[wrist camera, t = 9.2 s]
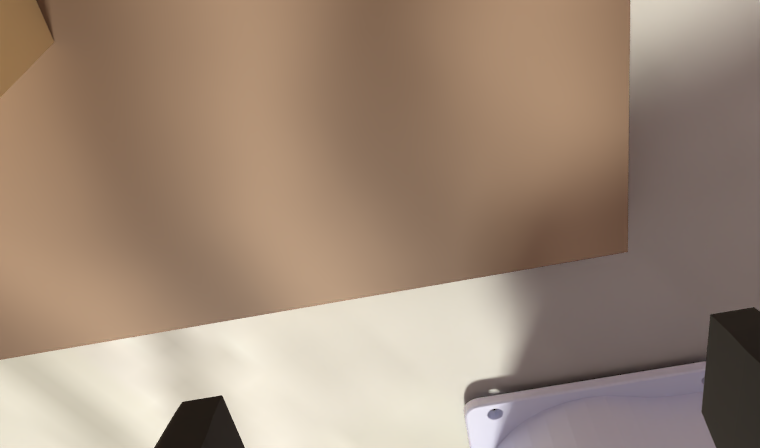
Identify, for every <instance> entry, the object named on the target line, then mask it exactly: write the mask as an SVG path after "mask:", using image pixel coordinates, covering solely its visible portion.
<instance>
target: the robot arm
mask: <svg viewBox="0 0 760 448" xmlns="http://www.w3.org/2000/svg"><path fill="white" fill-rule="evenodd" d="M492 409H497V410H492ZM464 416H465V421H466V427H467V433H468V439H469V445H470V448H760V311H758V310H757V309H755V308H754V307H753V308H747V309H741V310H735V311H729V312H723V313H717V314H711V315H710V326H709V336H708V347H707V358H706V361H703V362H697V363H691V364H685V365H679V366H672V367H666V368H660V369H654V370H648V371H642V372H635V373H629V374H623V375H617V376H611V377H604V378H598V379H592V380H586V381H580V382H574V383H567V384H561V385H555V386H549V387H543V388H536V389H530V390H524V391H518V392H512V393H505V394H499V395H493V396H487V397H481V398H476V399H472V400H470V401H469V402H468V403H466V405H465V406H464ZM154 448H245V447H244V445H243V443H242V440H241V438H240V436H239V433H238V431H237V429H236V426H235V424H234V422H233V420H232V417H231V415H230V413H229V410H228V408H227V406H226V403H225V401H224V399H223V396H216V397H210V398H204V399H197V400H191V401H185V402H182V404H181V405H180V406H179V408H178V409H177V411H176V412H175V414H174V416H173V417H172V419H171V421H170V422H169V424H168V426H167V427H166V429H165V431H164V432H163V434H162V436H161V437H160V439H159V441H158V442H157V444H156V446H155V447H154Z"/></svg>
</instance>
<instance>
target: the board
mask: <svg viewBox="0 0 760 448" xmlns="http://www.w3.org/2000/svg"><path fill="white" fill-rule="evenodd" d="M36 1H37V4H38V6H39V8H40V10H41V13H42V15H43V17H44V20H45V22H46V24H47V26H48V29H49V31H50V33H51V35H52V38H53V40H54V43H53V44H52V45H51V46H50V47H49V48H48V49H47V50H46V51H45V52H44V53H43V54H42V55H41V56H40V57H39V58H38V59H37V60H36V61H35V62H34V63H33V64H32V66H31V67H30V68H29V69H28V70H27V71H26V72H25V73H24V74H23V75H22V76H21V77H20V78H19V79H18V80H17V81H16V82H15V83H14V84H13V85H12V86H11V87H10V88H9V89H8V90H7V91H6V92H5V93H4V94H3V95H2V96H1V97H0V360H1V359H7V358H13V357H19V356H25V355H31V354H36V353H42V352H48V351H54V350H60V349H66V348H71V347H77V346H83V345H89V344H95V343H100V342H106V341H112V340H118V339H124V338H130V337H135V336H141V335H147V334H153V333H159V332H164V331H170V330H176V329H182V328H188V327H194V326H199V325H205V324H211V323H217V322H223V321H228V320H234V319H240V318H246V317H252V316H258V315H263V314H269V313H275V312H281V311H287V310H292V309H298V308H304V307H310V306H316V305H322V304H327V303H333V302H339V301H345V300H351V299H357V298H362V297H368V296H374V295H380V294H386V293H391V292H397V291H403V290H409V289H415V288H421V287H426V286H432V285H438V284H444V283H450V282H455V281H461V280H467V279H473V278H479V277H485V276H490V275H496V274H502V273H508V272H514V271H519V270H525V269H531V268H537V267H543V266H549V265H554V264H560V263H566V262H572V261H578V260H583V259H589V258H595V257H601V256H607V255H613V254H618V253H624V252H628V161H629V58H630V0H36Z"/></svg>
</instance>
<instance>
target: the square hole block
mask: <svg viewBox="0 0 760 448" xmlns="http://www.w3.org/2000/svg"><path fill="white" fill-rule="evenodd" d="M53 43H54V40H53V38H52V35H51V33H50V31H49V29H48V26H47V24H46V22H45V20H44V17H43V15H42V13H41V10H40V8H39V6H38V4H37V1H36V0H0V97H1V96H2V95H3V94H4V93H5V92H6V91H7V90H8V89H9V88H10V87H11V86H12V85H13V84H14V83H15V82H16V81H17V80H18V79H19V78H20V77H21V76H22V75H23V74H24V73H25V72H26V71H27V70H28V69H29V68H30V67H31V66H32V64H33V63H34V62H35V61H36V60H37V59H38V58H39V57H40V56H41V55H42V54H43V53H44V52H45V51H46V50H47V49H48V48H49V47H50V46H51V45H52V44H53Z"/></svg>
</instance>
